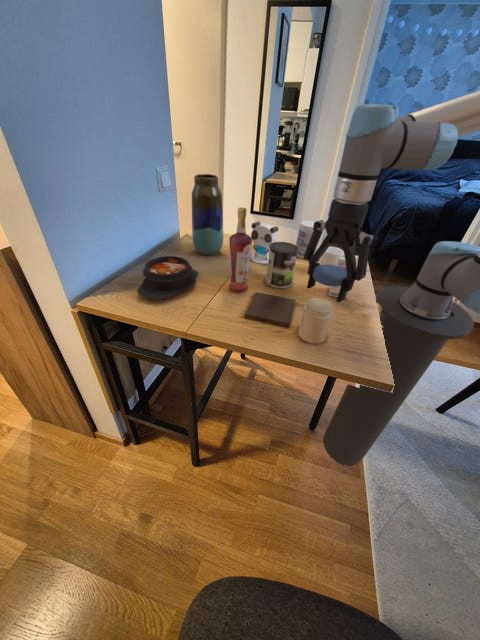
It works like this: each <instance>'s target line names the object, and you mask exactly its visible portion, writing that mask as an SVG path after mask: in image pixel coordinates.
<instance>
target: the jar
mask: <svg viewBox="0 0 480 640" xmlns="http://www.w3.org/2000/svg"><path fill="white" fill-rule="evenodd" d="M334 314H335V311H334V306H333V304H332V303H331V302H330V301H328V300H327V299H324V298H318V297H313V298H310V299H309V300H307V302H306V303H305V305H304V306H303V310H302V314H301V319H300V322H299V327H298V331H297V333H298V337H300V339H301V340H303V341H304V342H306V343H310V344H322V343H323V342H324V341H326V338H327V335H328V332H329V329H330V326H331V323H332V320H333V317H334Z"/></svg>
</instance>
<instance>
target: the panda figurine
mask: <svg viewBox="0 0 480 640" xmlns="http://www.w3.org/2000/svg"><path fill="white" fill-rule="evenodd" d="M261 223H262V222H261V221H255V222H252V224H251V229H253V230H252V231H251V234H250V237H251V238H252V242H253V244H254V245H253V250H254V253H251V254H250V260H251V261H252V262H254V263H257V264H262V265H268V258H269V250H270V248H269V247H270V244H272V243H274V242H278V232H279V226H273V225H271V224H268V223H262V224H261Z"/></svg>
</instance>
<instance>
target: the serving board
mask: <svg viewBox="0 0 480 640" xmlns="http://www.w3.org/2000/svg"><path fill="white" fill-rule="evenodd" d="M295 304H296V299H295V298H290V297H285V296H279V295H274V294H270V293H263V292H258V291H255V293H254V295H253V297H252V299H251V300H250V303H249V304H248V307H247V309H246V311H245V313H244V319H245V318H246V319H249V320H255V321H259V322H264V323H267V324H272V325H276V326H282V327H285V328H290V324H291V320H292V317H293V312H294V307H295Z"/></svg>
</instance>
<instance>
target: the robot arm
mask: <svg viewBox="0 0 480 640" xmlns="http://www.w3.org/2000/svg"><path fill="white" fill-rule="evenodd" d="M399 113H400V108H399V106H398V105H396V104H381V103H380V104H379V103H378V104H376V103H375V104H374V103H370V104H360V105H358V106H357V107H356V108H355V109H354V110H353V112H352V116H351V119H350V122H349V125H348V130H347V133H346V135H345V142H344V147H343V152H342V155H341V161H340V165H339V170H338V174H337V177H336V182H335V185H334V188H333V189H334V190H333V195H332V196H333V199H332V200H331V202H330V206H329V209H328V214H327V216H328V218H327V220H326V221H325V220H323V219H320V220H317V221H314V227H313V233H312V236H311V239H310V241H309V244H308V246H307V249H306V251H305V254H304V258H303V260H305V261H308V267H307V275H308V281H307V285H306V288H307V289H311V288H313V287H314V286H316V282H317V281H315V280H314V278H313V272H314V268H315V267H316V266H319V265H320V264H321V262H320V260H321V258H322V255H323V254H324V252H325V251H326V250H327V249H328V247H331V245H332V244H333V245H335V244H336V245H338V246H340V247H342V250H343V251H344V253H343V254H345V263H346V271H347V277H345V278H344V279H343V282H342V285H341V288H340V292H339V295H338V297H336V298H337V299H336V303H338V304H340V303H341V302H343V301H344V300H345V299H346V296H347V293H349V292H350V291H351V290H352V289H353V287H354V284H355V281H357V282H359V281H361V280H363V279H364V278H366V275H367V269H368V262H369V257H370V249H371V245H372V244H373V241H374V240H375V235H374V234H373V233H370V234H368V233H366V232H364V230H363V224H364V223H365V219H366V216H367V213H368V209H369V202H370V201H371V200H372V198H373V195H374V191H375V187H376V185H377V181H378V178H379V175H380V173H381V170H382V169H383V170H387V169H395V170H409V171H410V170H411V171H412V170H414V171H419V172H422V171H433V170H436V169H439V168H441V167H442V166H443V165H444V164H446V163H447V161H448V160H449V159H450V158H451V157H452V155H453V154H454V150H455V148H456V147H457V144H458V139H459V138H461V137H464V136H468V135H471V134H474V133H477V132H480V90H478V91H473V92H472V93H468V94H466V95H463V96H462V95H461V96H459V97H456V98H453V99H450V100H447V101H444V102H441V103H438V104H434V105H432V106H429V107H426V108H423V109H420V110H417V111H414V112H411V113H408V114H406V115H402V116H399ZM323 231H325V232H326V236H325V237H324V238H323V240H322V242H321V243H320V245H319V242H320V240H321V237H322V234H323ZM358 238H359V244H360V246H359V249H358V255H357V263H356V258H355V256H356V250H355V249H356V240H357V239H358ZM317 244H318V245H319V246H318V245H317ZM316 247H317V248H316ZM315 249H316V252H315ZM314 252H315V253H314ZM313 254H314V255H313ZM409 287H410V288H408V289H407V290H406V291H405V292H404V293H403V294H402V296H401V297H400V299H399V304H400V306H401V307H402V308H403V309H404V310H405V311H407V312H408V313H410V314H412V315H414V316H416V317H419V318H422V319H426V320H431V321H442V320H445V319H447V318H448V316H449V315H450V314H451V315H452V316H455V314H454V313H453V312H452V311H451V309H452V304H453V302H454V298H455V299H456V300H458V301H459V302H460V303H461V304H462V305H464V307H466V308H467V309H470V310H471V311H473V312H474V313H476V314H479V315H480V246H479V245H475V244H471V243H467V242H461V241H451V240H444V241H443V240H441V241H438V242H437V243H435V244H434V245H433V247H432V249H431V250H430V251H429V252H428V254H427V256H426V259H425V260H424V263H423V265H422V267H421V269H420V271H419V273H418V275H417V277H416V279H415V280H414V282H413V284H411V285H410V286H409Z"/></svg>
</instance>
